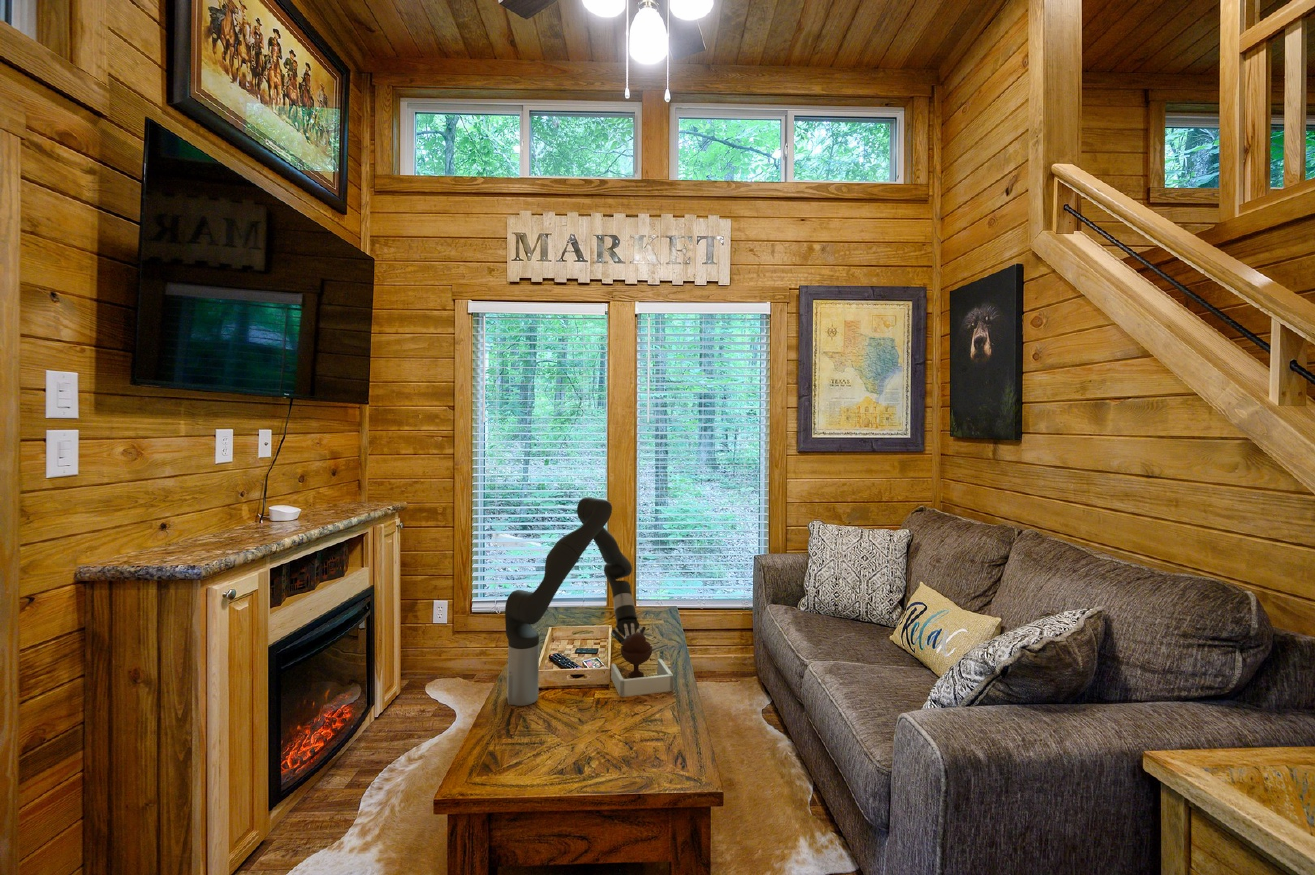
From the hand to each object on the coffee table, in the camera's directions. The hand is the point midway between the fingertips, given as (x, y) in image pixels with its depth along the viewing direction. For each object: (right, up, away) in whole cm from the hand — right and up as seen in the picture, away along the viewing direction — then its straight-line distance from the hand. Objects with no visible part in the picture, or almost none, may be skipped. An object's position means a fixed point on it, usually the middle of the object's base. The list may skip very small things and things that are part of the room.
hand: (632, 655), depth 204 cm
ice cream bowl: (+1, -5, -5) cm, 7 cm away
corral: (+3, -5, -11) cm, 13 cm away
